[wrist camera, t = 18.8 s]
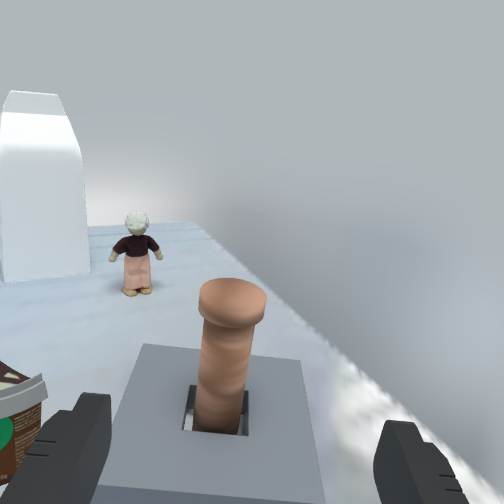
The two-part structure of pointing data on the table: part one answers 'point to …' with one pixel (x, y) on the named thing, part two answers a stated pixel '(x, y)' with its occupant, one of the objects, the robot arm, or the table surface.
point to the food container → (18, 417)
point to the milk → (40, 191)
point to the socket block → (210, 438)
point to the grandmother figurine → (136, 254)
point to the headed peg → (225, 351)
